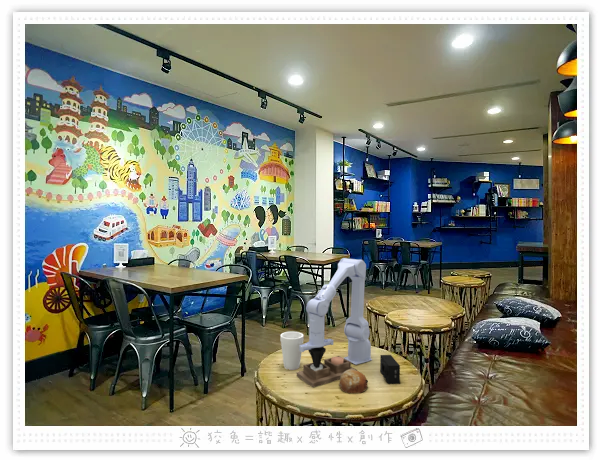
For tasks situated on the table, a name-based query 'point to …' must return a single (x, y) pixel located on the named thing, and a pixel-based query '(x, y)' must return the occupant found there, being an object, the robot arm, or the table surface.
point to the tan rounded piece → (337, 360)
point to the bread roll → (353, 382)
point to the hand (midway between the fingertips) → (316, 366)
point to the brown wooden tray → (324, 372)
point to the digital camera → (390, 369)
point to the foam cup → (291, 349)
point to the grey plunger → (316, 368)
